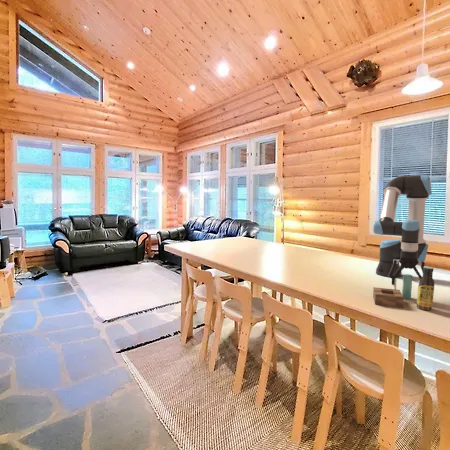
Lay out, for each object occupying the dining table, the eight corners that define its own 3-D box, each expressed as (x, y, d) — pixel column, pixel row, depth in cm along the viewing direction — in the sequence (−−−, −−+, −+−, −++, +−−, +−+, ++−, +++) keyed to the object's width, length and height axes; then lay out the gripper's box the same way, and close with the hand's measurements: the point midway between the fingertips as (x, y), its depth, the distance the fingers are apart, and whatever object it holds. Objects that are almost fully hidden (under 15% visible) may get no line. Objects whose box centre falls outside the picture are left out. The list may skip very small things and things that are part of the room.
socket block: (373, 296, 161) (373, 287, 160) (398, 299, 157) (399, 289, 156) (375, 304, 150) (375, 294, 149) (402, 307, 145) (403, 297, 145)
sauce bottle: (418, 309, 142) (420, 268, 140) (415, 305, 148) (417, 265, 146) (434, 311, 140) (437, 269, 138) (430, 307, 146) (433, 266, 144)
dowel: (401, 296, 161) (402, 273, 160) (410, 296, 160) (411, 274, 159) (402, 298, 158) (404, 275, 156) (411, 299, 156) (413, 276, 155)
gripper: (384, 250, 157) (382, 292, 159) (437, 253, 148) (434, 297, 151) (383, 247, 164) (381, 287, 166) (433, 250, 155) (430, 292, 158)
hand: (406, 292), depth 158 cm, fingers open, 10 cm apart
